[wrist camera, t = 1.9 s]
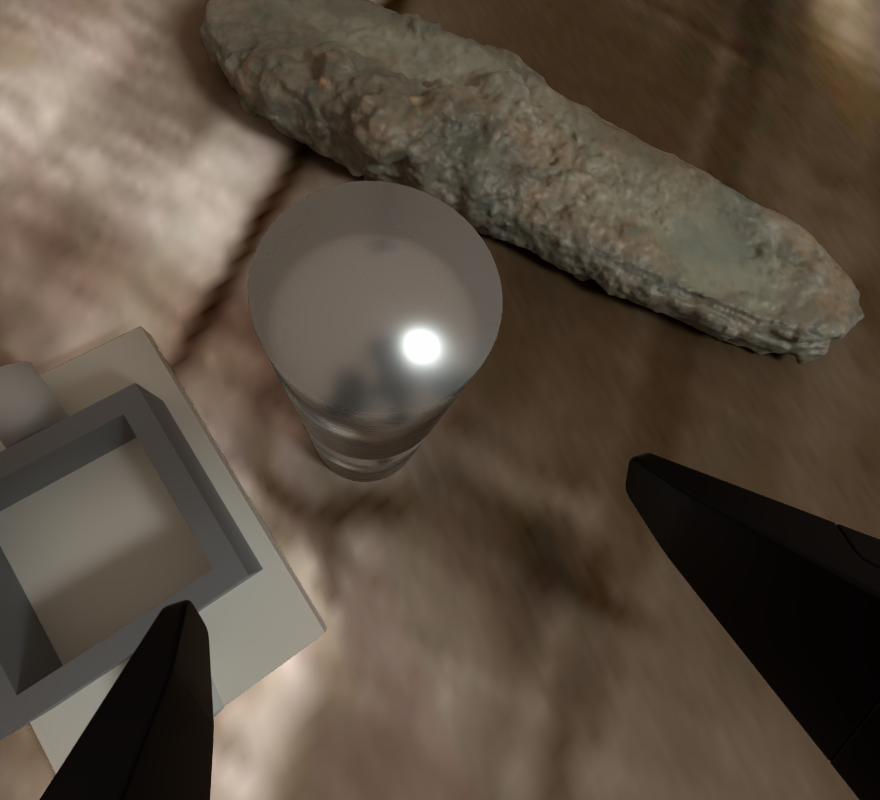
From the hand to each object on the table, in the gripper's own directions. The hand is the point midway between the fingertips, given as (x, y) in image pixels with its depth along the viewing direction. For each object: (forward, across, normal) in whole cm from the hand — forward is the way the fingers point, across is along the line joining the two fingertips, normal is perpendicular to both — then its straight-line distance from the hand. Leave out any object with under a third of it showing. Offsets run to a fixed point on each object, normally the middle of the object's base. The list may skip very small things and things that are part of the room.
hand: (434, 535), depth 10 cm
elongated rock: (+18, -12, -2) cm, 22 cm away
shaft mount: (+10, +10, +6) cm, 15 cm away
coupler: (+11, 0, +5) cm, 12 cm away
